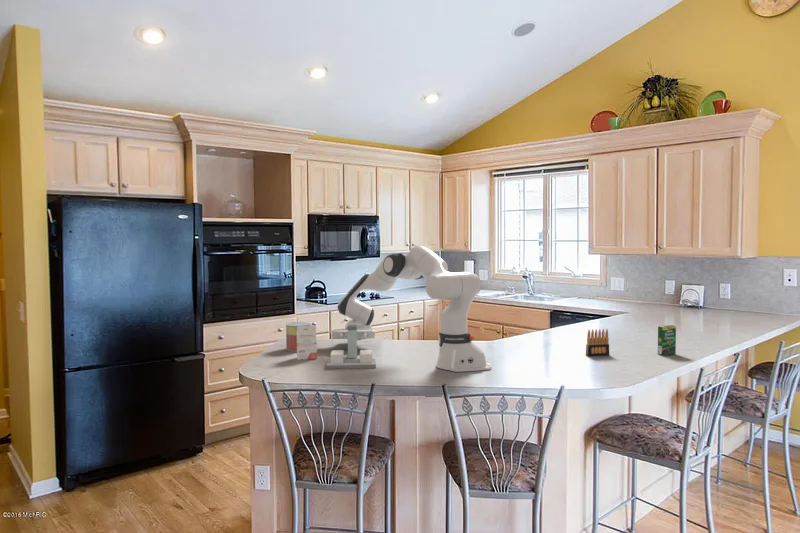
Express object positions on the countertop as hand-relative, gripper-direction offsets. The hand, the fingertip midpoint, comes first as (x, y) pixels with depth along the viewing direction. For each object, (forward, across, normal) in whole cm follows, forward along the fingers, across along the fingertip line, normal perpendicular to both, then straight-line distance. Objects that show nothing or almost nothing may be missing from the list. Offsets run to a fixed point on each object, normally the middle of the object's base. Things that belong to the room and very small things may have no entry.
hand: (353, 336), depth 261 cm
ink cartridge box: (+8, -20, +8) cm, 23 cm away
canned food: (-12, -26, +8) cm, 30 cm away
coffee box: (+11, +142, +9) cm, 142 cm away
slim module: (+7, 0, +8) cm, 11 cm away
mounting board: (+22, 0, +8) cm, 24 cm away
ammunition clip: (+11, +110, +8) cm, 111 cm away
